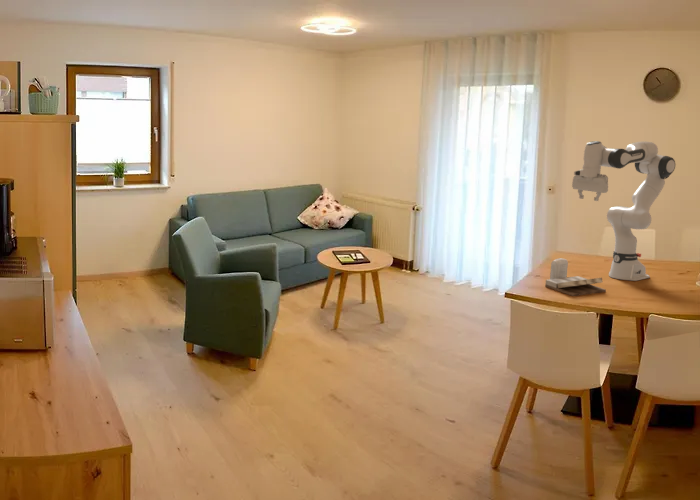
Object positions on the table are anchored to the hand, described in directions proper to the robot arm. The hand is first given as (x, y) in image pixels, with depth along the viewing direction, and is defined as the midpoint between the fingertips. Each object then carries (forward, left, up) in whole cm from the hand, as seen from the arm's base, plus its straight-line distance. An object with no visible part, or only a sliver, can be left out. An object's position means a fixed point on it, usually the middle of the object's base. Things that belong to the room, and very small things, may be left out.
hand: (588, 199), depth 361 cm
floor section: (+12, +9, -45) cm, 47 cm away
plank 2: (+7, +12, -42) cm, 44 cm away
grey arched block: (+8, -8, -45) cm, 47 cm away
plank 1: (+18, +12, -42) cm, 47 cm away
